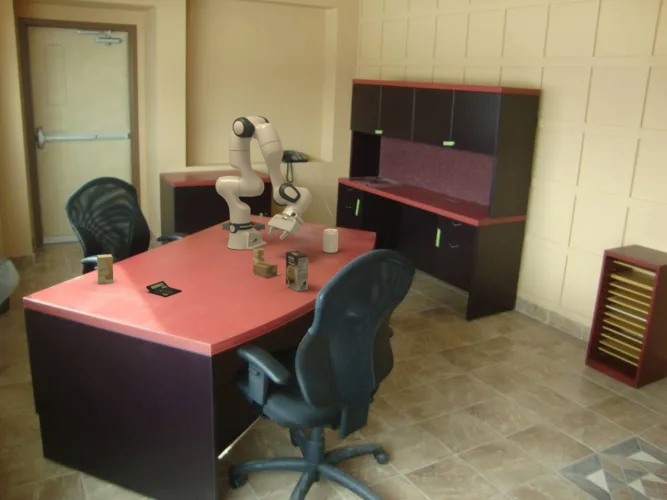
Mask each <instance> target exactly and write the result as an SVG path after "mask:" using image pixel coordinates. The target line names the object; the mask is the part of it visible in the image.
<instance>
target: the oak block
mask: <svg viewBox="0 0 667 500" xmlns="http://www.w3.org/2000/svg"><path fill="white" fill-rule="evenodd" d="M264 261H265V249H264V248H262V247H258V248H255V249H253V250H252V264H257V263H260V262H264Z"/></svg>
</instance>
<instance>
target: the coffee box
mask: <svg viewBox="0 0 667 500" xmlns="http://www.w3.org/2000/svg"><path fill="white" fill-rule="evenodd" d="M309 256H310V255H309V254H307V253H304V252H302V251H300V250H291V251H290V250H289V251H286V252H285V258H286V259H285V285H286V286H287V287H288V288H289V289H290V290H293V291H295V292H301V291H306V290H308V289H309V288H308V287H309V264H310V263H309V261H310V259H309V258H310V257H309Z"/></svg>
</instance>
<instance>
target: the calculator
mask: <svg viewBox="0 0 667 500" xmlns="http://www.w3.org/2000/svg"><path fill="white" fill-rule="evenodd" d="M145 288H146V289H147V290H148V292H149V293H151V294H152V295H155V296H159V297H161V298H162V297H164V298H168V297H170V296H173V295H176V294H179V293H182V292H183V290H181V289H180V288H179V289H178V288H175V287H172V286H171V287H170V286H169V285H168V284H167V283H166V282H165V281H163V280H161V281H158V282H156V283H153V284H149V285H147V286H146V287H145Z"/></svg>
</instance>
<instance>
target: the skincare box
mask: <svg viewBox="0 0 667 500" xmlns="http://www.w3.org/2000/svg"><path fill="white" fill-rule="evenodd" d="M113 263H114V260H113V255H112V254H98V255H96V264H97V266H96V267H97V268H96V269H97V282H98V284H100V285H102V284H112V283H114V264H113Z"/></svg>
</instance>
